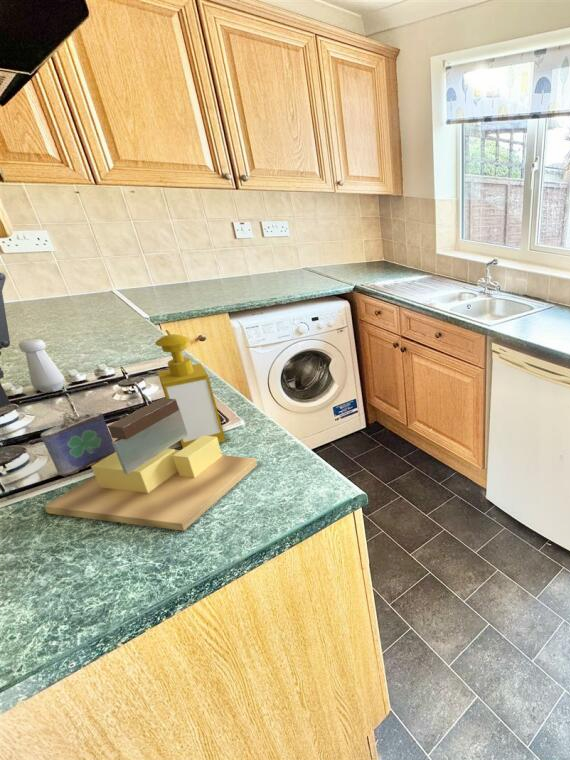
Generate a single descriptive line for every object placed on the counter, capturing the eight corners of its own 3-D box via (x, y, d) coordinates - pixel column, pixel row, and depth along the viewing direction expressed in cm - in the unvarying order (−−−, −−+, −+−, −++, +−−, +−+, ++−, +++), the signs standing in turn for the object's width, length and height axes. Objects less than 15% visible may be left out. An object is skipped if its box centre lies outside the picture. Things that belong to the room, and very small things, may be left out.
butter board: (47, 513, 69) (43, 506, 68) (145, 452, 85) (143, 445, 84) (184, 531, 67) (181, 523, 66) (257, 465, 83) (256, 458, 83)
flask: (65, 478, 76) (41, 427, 72) (54, 474, 77) (29, 424, 73) (120, 451, 85) (102, 404, 80) (110, 448, 85) (90, 402, 81)
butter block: (100, 487, 73) (90, 466, 71) (137, 463, 79) (129, 443, 77) (148, 493, 72) (139, 472, 70) (181, 469, 78) (174, 449, 76)
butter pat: (179, 476, 77) (172, 455, 75) (208, 454, 83) (202, 435, 81) (194, 477, 76) (188, 457, 74) (222, 456, 83) (217, 436, 81)
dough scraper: (118, 473, 67) (100, 429, 64) (180, 434, 78) (167, 395, 75) (133, 474, 67) (115, 431, 64) (192, 435, 78) (180, 396, 74)
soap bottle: (212, 417, 98) (185, 320, 88) (225, 441, 90) (197, 336, 80) (174, 427, 94) (141, 326, 84) (184, 452, 85) (149, 343, 75)
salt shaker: (69, 382, 110) (49, 335, 104) (67, 390, 106) (46, 342, 100) (37, 387, 106) (14, 339, 101) (33, 396, 102) (10, 346, 97)
